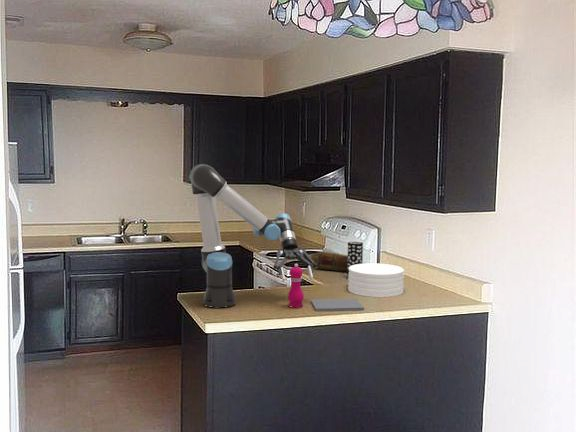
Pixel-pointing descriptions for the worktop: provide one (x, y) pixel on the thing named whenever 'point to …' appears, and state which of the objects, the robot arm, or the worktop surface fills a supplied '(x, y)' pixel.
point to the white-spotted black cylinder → (354, 254)
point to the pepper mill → (295, 287)
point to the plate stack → (376, 280)
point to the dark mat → (336, 304)
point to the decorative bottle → (330, 261)
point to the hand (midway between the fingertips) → (297, 279)
